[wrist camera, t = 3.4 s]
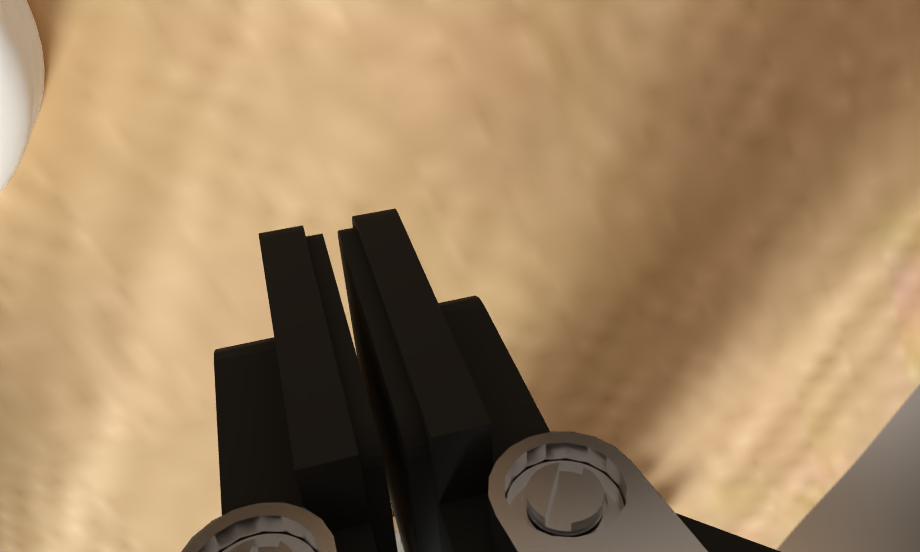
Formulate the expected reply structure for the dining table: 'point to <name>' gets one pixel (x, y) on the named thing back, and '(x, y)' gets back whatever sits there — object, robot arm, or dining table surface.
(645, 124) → the dining table surface
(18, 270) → the dining table surface
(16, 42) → the white round tin
